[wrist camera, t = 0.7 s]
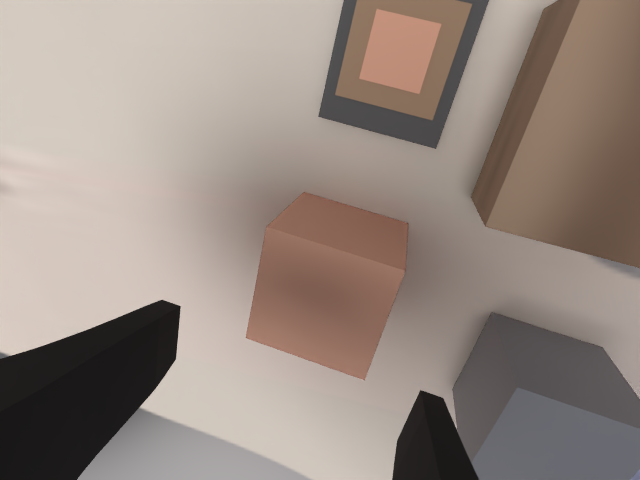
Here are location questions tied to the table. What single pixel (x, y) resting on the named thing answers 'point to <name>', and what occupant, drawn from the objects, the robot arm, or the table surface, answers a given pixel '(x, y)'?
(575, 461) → the charcoal cube
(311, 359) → the terracotta cube
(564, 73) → the walnut block
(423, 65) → the card
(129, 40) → the table surface
